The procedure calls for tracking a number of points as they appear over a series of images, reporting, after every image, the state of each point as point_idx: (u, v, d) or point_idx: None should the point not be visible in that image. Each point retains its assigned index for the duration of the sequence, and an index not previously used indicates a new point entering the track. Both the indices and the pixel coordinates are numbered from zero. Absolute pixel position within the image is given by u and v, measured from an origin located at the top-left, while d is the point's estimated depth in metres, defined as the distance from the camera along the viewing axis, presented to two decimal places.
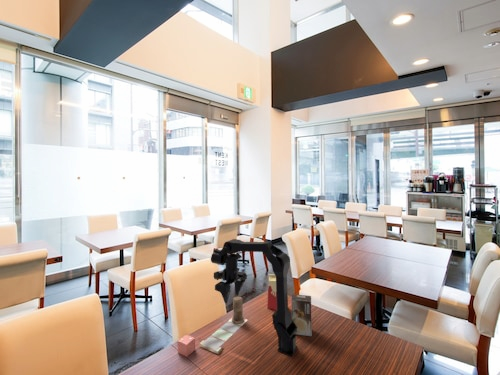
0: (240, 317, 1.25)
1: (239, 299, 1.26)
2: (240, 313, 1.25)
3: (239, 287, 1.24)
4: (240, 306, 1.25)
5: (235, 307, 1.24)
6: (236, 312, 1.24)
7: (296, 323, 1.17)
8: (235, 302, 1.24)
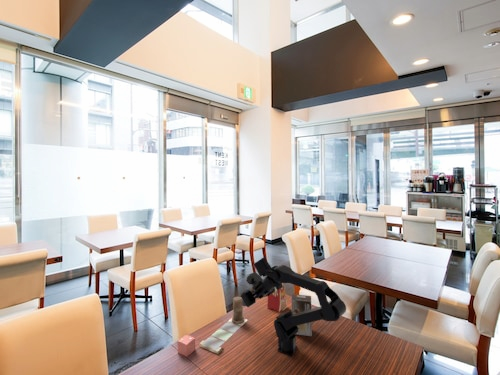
0: (240, 317, 1.25)
1: (239, 299, 1.26)
2: (240, 313, 1.25)
3: None
4: (240, 306, 1.25)
5: (235, 307, 1.24)
6: (236, 312, 1.24)
7: None
8: (235, 302, 1.24)
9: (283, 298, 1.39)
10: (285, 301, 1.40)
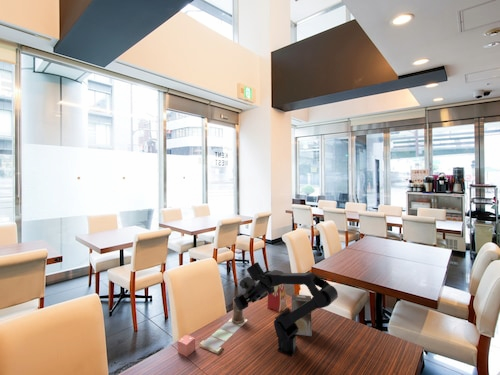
0: (240, 317, 1.25)
1: None
2: (240, 313, 1.25)
3: None
4: None
5: None
6: (236, 312, 1.24)
7: (296, 323, 1.17)
8: None
9: (283, 298, 1.39)
10: (285, 301, 1.40)
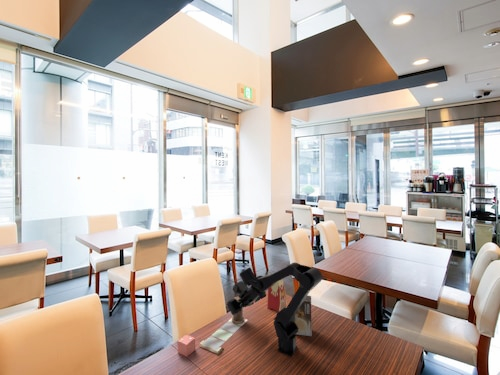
0: (240, 317, 1.25)
1: None
2: (240, 313, 1.25)
3: None
4: None
5: None
6: None
7: (296, 323, 1.17)
8: None
9: (283, 298, 1.39)
10: (285, 301, 1.40)
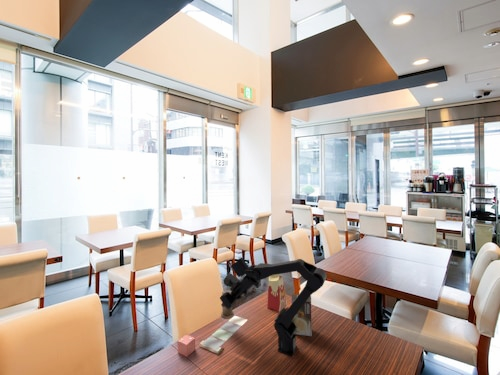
0: (231, 311, 1.19)
1: (229, 292, 1.19)
2: None
3: (234, 298, 1.21)
4: None
5: None
6: None
7: (296, 323, 1.17)
8: None
9: (283, 298, 1.39)
10: (285, 301, 1.40)
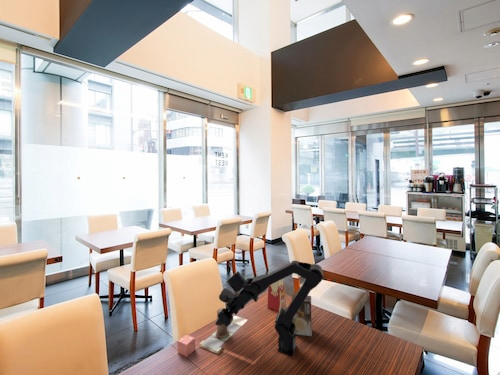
0: (226, 330, 1.14)
1: None
2: None
3: None
4: None
5: None
6: (222, 326, 1.13)
7: (296, 323, 1.17)
8: None
9: (283, 298, 1.39)
10: (285, 301, 1.40)
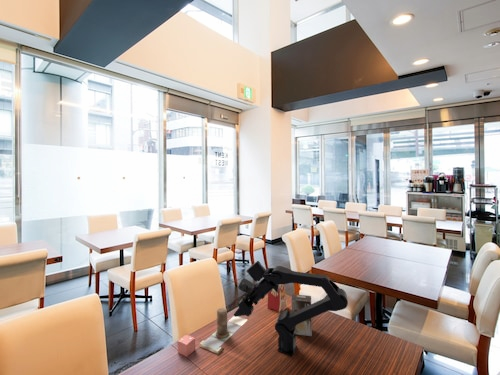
0: (226, 330, 1.14)
1: (224, 311, 1.15)
2: (226, 326, 1.14)
3: None
4: (226, 318, 1.14)
5: (221, 320, 1.13)
6: (222, 326, 1.13)
7: None
8: (221, 315, 1.13)
9: (283, 298, 1.39)
10: (285, 301, 1.40)
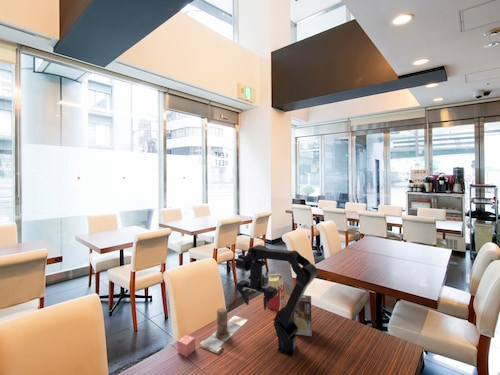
0: (226, 330, 1.14)
1: (224, 311, 1.15)
2: (226, 326, 1.14)
3: None
4: (226, 318, 1.14)
5: (221, 320, 1.13)
6: (222, 326, 1.13)
7: (296, 323, 1.17)
8: (221, 315, 1.13)
9: (283, 298, 1.39)
10: (285, 301, 1.40)
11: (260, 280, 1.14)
